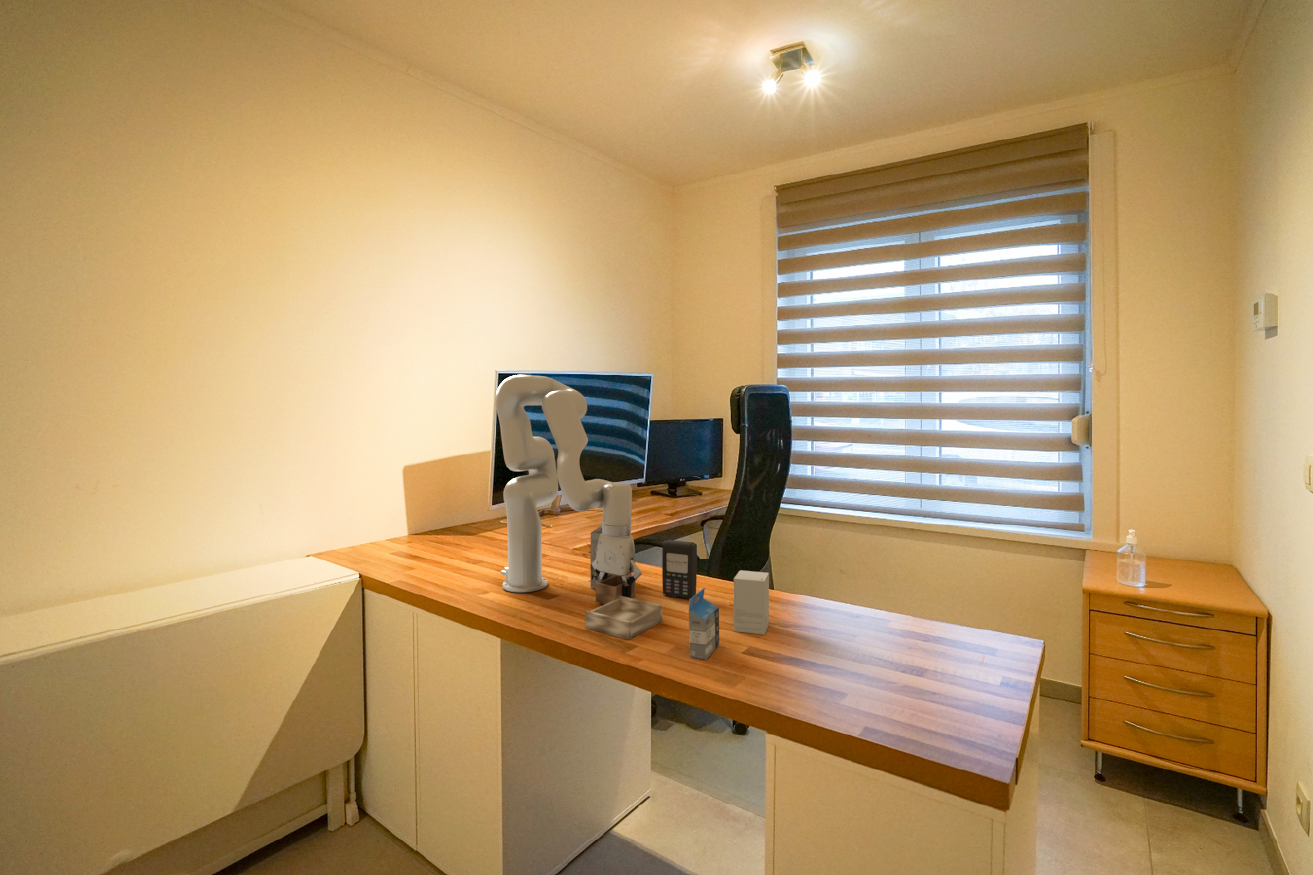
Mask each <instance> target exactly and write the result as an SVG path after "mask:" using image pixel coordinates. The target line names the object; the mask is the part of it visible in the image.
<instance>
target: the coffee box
mask: <svg viewBox="0 0 1313 875" xmlns="http://www.w3.org/2000/svg"><path fill="white" fill-rule="evenodd" d="M602 531H603V528H600V526H598V527H597V528H595V529H594V530H593V531H591V532H590V581H589V582H590V586H589V587H590V589H595V590H596V583H597V582H599V581H600V580H599V578H598V577H599V576H598V575H597V573H596V571H595V569H594V568H593V566H592V562H593V561H594V560H595V559H596V554H597V545H598V540H599V536H600V534H601V533H602ZM612 576H615V575H612V574H609V576H608V578H610V577H612Z"/></svg>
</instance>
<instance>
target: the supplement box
mask: <svg viewBox="0 0 1313 875" xmlns="http://www.w3.org/2000/svg"><path fill="white" fill-rule="evenodd" d="M769 625H770V572H762V571H751V570H742V569H741V570H739V571H738V572H737V573H736V575H735V576H734V578H733V631H734V632H739V633H747V634H754V635H763V636H764V635H765V634H766V633H767V630H768V627H769Z"/></svg>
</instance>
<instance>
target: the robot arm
mask: <svg viewBox="0 0 1313 875" xmlns="http://www.w3.org/2000/svg"><path fill="white" fill-rule="evenodd" d="M494 400H495V408H496V413H497V417H498V421H499V427H500V437H501V444H502V452H503V453H502V454H503V458H504V463H505V466H506V468H508V469H509V470H510V471H512V472H525V471H528V474H527V475H526V474H525V475H520V476H517V477H515V478H514V477H513V478H512V479H511V480H509V481H508V482H507V483H506V485H505V487H504V488H503V492H502V493H503V502H504V506H505V511H506V512H505V514H506V523H507V526H506V528H507V530H506V531H507V566H505V567H504V568H503V570H501V571H500V575H501V576H503V577H504V576H505V580H504V581H503V582H502V588H503V590H505V591H507V592H510V593H511V592H512V593H531V592H536V591H541V590H543V589H545V588H546V587H547V586H548V579H547V578H546V577H543V553H542V552H543V551H542V550H543V549H542V548H543V547H542V546H543V542H542V541H543V540H542V539H543V534H542V533H543V531H542V530H543V529H542V519H541V517H540V514H539V511H538V509H537V508H538V507H541V506H545V505H550V503H553V502H554V501H555V499H557V496H558V492H559V488H560V490H561V492H562V495H563V497H564V500H565V502H566V503H567V505H568V506H569V507H570V508H571V509H573V511H576V512H586V511H590V510H592V509H596V508H602V522H601V523H600V524H599V527H600V528H603V531H602V533H601V534H600V536H599V540H598V545H597V554H596V559H595V560H594V561H593V562H592V566H593V568H594V569H595V571H596V573H597V575H598V576H599V577H598V578H599V580H600V581H602V580H604V579H607V578H608V576H609V574H612V575H617V576H621V577H622V580H623V583H624V586H622V596H624V597H628V598H631V588H632V584H633V583H634V582H635V581H637V580H638V578H640V576H642V574H643V573H642V571H641V569H640V568H639V566H638V565H637V564H636V548H635V542H634V536H633V535H632V509H633V508H632V506H633V505H632V504H633V491H632V490H633V488H632V485H631V484H629V483H627V482H621V481H620V482H617V481H615V482H613V481H609V480H607V479H606V480H605V479H602V478H601V479H600V478H594V479H589V480H585V479H584V476H583V473H582V471H581V466H580V459H581V454H582V451H583V450H584V448H585V447H586V446H587V444H588V443H589V442H588V440H589V438H588V436H587V433H586V431H585V428H584V426H583V424H582V421H581V419H582V418H584V416H585V415H586V414H587V411H588V403H587V400H586V398H585V396H584V395H583V394H582V393H581V392H580V391H578V390H576V389H574V388H572V387H570V386H568V385H566V384H564V383H562V382H560V381H558V380H556V379H554V378H551V377H548V376H542V375H532V374H517V375H516V374H515V375H512V376H509V377H507V378H505V379H504V380H503V381H501V383H500V384H499V386H498V387H497V390H496V393H495V398H494ZM526 406H541V410H542V412H543V415H544V418H545V419H546V423H547V425H548V427H549V430H550V432H551V435H552V437H553V440H554V443H555V445H556V447H557V452H558V454H557V460H556V459H555V458H556V457H555V452H554V449H553V446H552V444H551V442H549V441H548V440H547V439H546V438H544V437H541V436H534V435H533V431H532V424H531V420H530V417H529V414H528V413H527V412H526V410H525V407H526ZM627 578H628V579H627Z"/></svg>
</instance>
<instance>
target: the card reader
mask: <svg viewBox="0 0 1313 875" xmlns="http://www.w3.org/2000/svg"><path fill="white" fill-rule="evenodd" d="M661 553H662V556H661V557H662V558H661V560H662V561H661V563H662V565H661V566H662V569H661V570H662V582H661V583H662V594H663V595H665V596H666V597H673V598H674V597H675V598H681V599H686V600H690V599H691V598H692V597H693V596H694V595H696V594H697V581H698V580H697V578H698V577H697V576H698V575H697V574H698V573H697V572H698V571H697V570H698V567H697V566H698V544H697V542H693V541H682V540H672V539H668V540H664V541H663V542H662V552H661Z"/></svg>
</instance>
